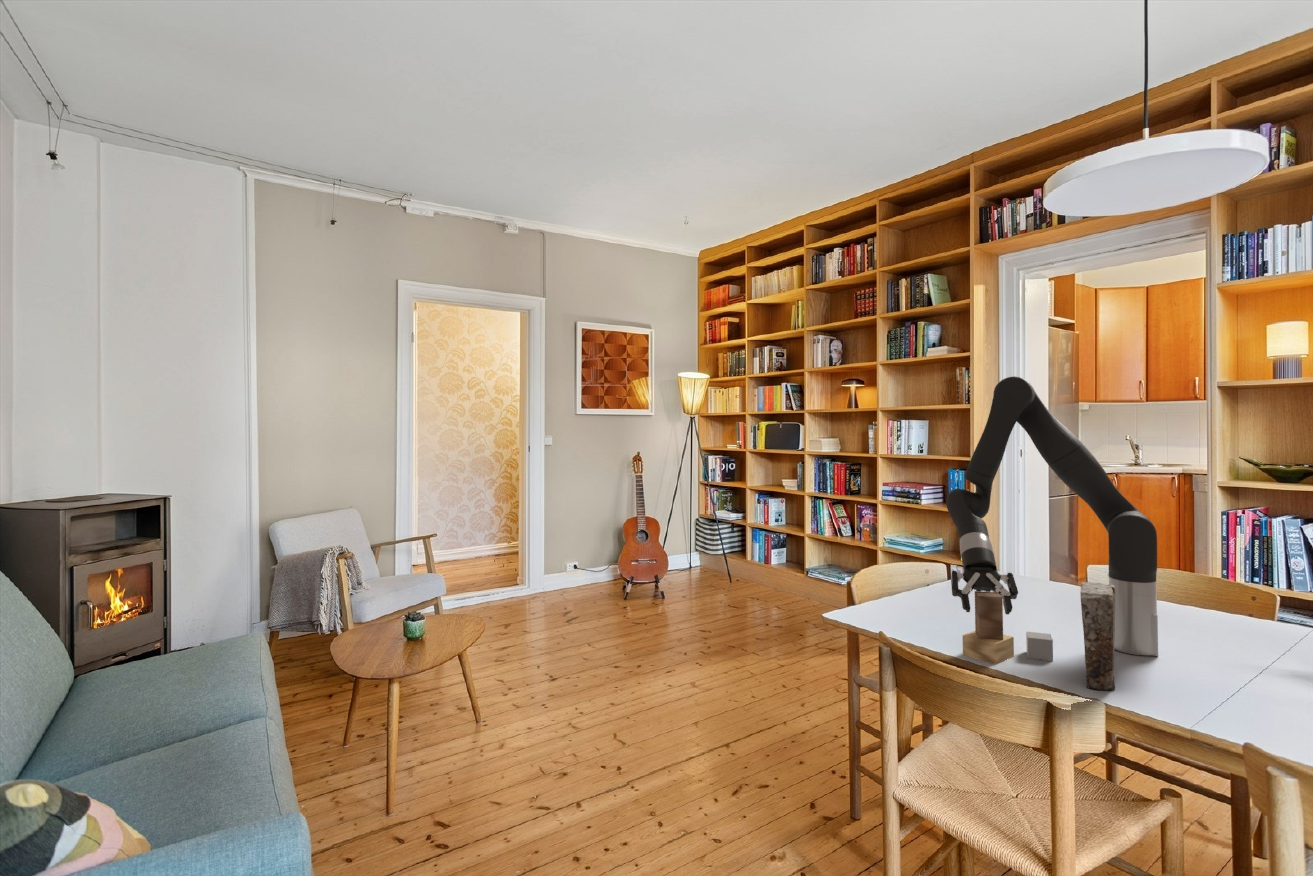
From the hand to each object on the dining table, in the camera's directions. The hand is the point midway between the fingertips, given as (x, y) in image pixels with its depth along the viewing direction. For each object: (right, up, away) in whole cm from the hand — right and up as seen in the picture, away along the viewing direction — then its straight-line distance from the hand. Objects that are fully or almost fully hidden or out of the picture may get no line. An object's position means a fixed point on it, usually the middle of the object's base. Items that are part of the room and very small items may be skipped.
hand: (988, 611), depth 150 cm
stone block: (+16, -11, -16) cm, 25 cm away
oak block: (0, -11, +1) cm, 11 cm away
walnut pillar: (+1, -6, +1) cm, 6 cm away
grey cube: (+12, -11, 0) cm, 16 cm away
